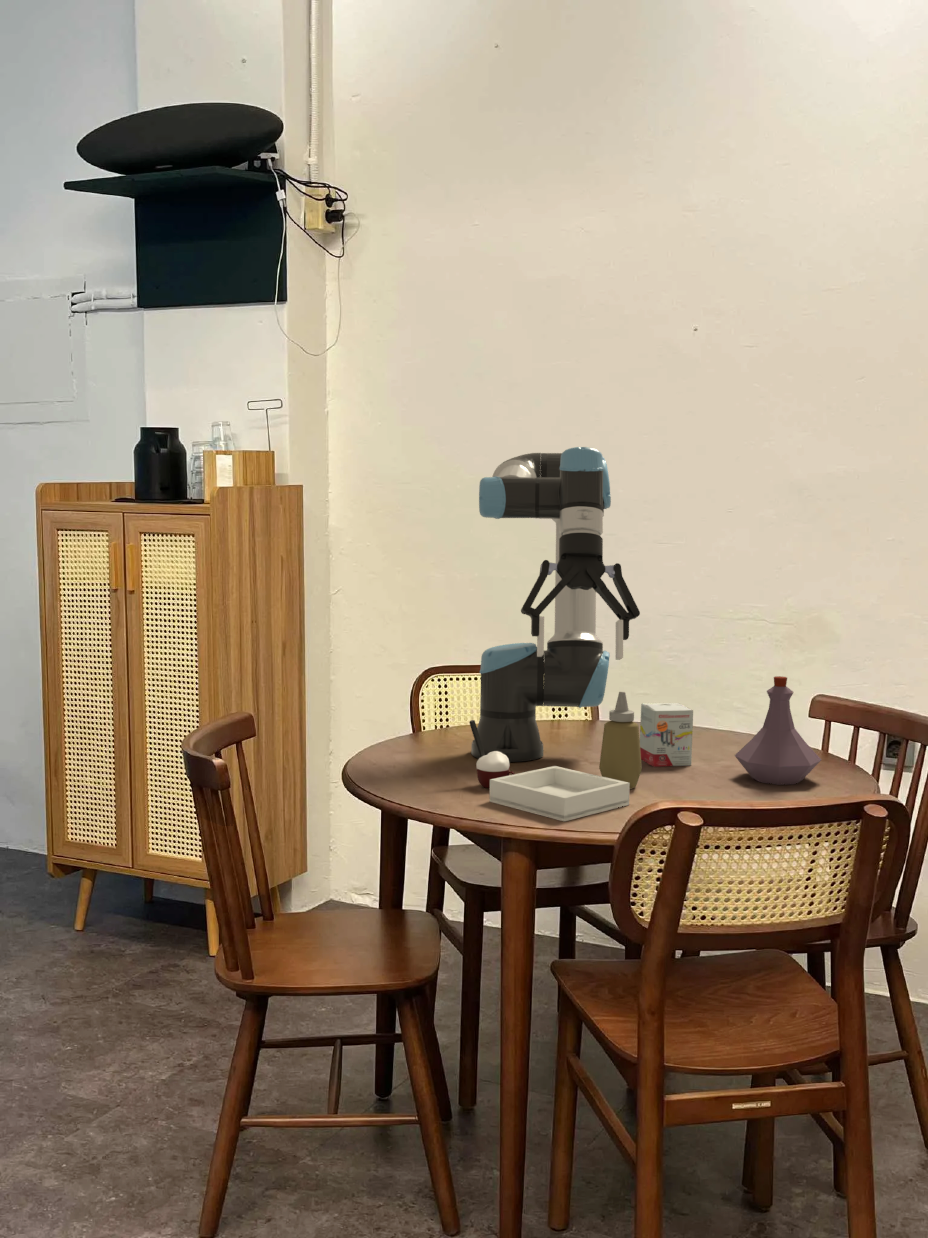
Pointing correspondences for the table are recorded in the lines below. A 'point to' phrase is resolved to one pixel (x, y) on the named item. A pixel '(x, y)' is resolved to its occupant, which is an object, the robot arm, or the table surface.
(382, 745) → the table surface
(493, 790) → the tray
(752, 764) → the flask
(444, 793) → the table surface
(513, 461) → the robot arm
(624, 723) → the squeeze bottle
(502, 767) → the cocoa
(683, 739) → the ink box
